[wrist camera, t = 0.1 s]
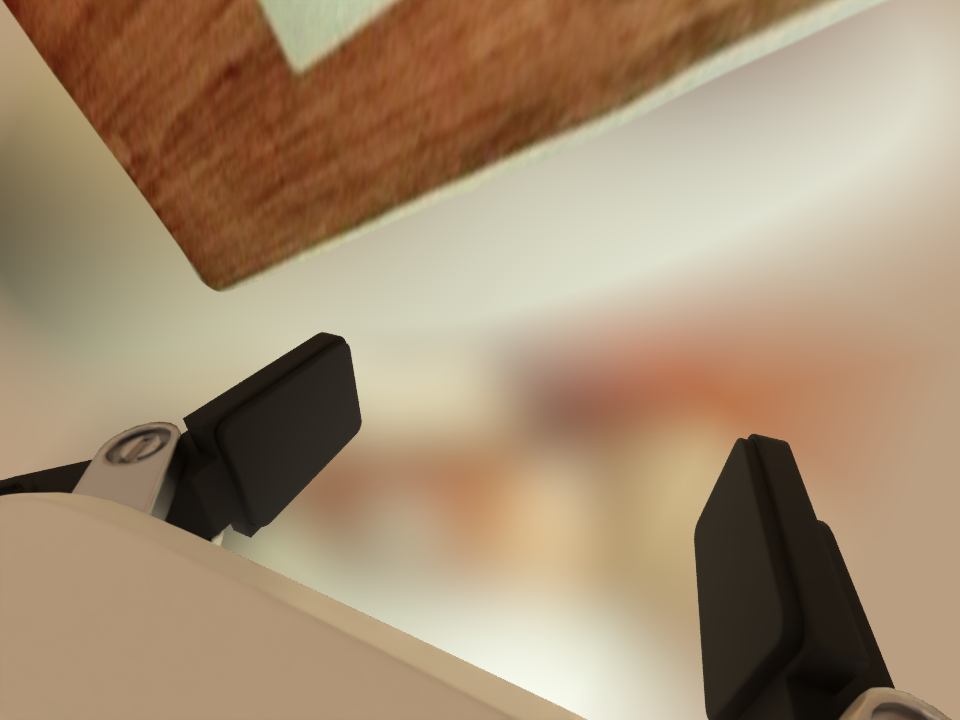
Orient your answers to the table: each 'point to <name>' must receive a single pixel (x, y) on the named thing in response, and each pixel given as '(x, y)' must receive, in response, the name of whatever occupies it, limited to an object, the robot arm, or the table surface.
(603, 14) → the table surface
